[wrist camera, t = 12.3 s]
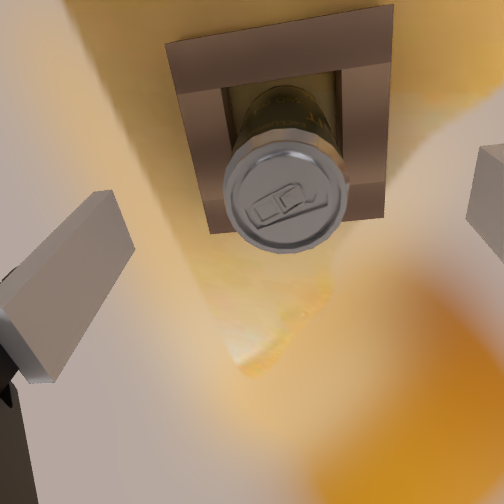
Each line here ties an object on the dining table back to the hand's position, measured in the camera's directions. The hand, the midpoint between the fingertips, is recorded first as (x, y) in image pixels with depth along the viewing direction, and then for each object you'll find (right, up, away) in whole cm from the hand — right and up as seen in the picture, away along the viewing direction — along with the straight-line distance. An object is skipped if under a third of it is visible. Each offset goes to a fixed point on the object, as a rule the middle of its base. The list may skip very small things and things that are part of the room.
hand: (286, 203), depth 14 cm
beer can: (+1, +7, +11) cm, 13 cm away
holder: (+1, +7, +11) cm, 13 cm away
